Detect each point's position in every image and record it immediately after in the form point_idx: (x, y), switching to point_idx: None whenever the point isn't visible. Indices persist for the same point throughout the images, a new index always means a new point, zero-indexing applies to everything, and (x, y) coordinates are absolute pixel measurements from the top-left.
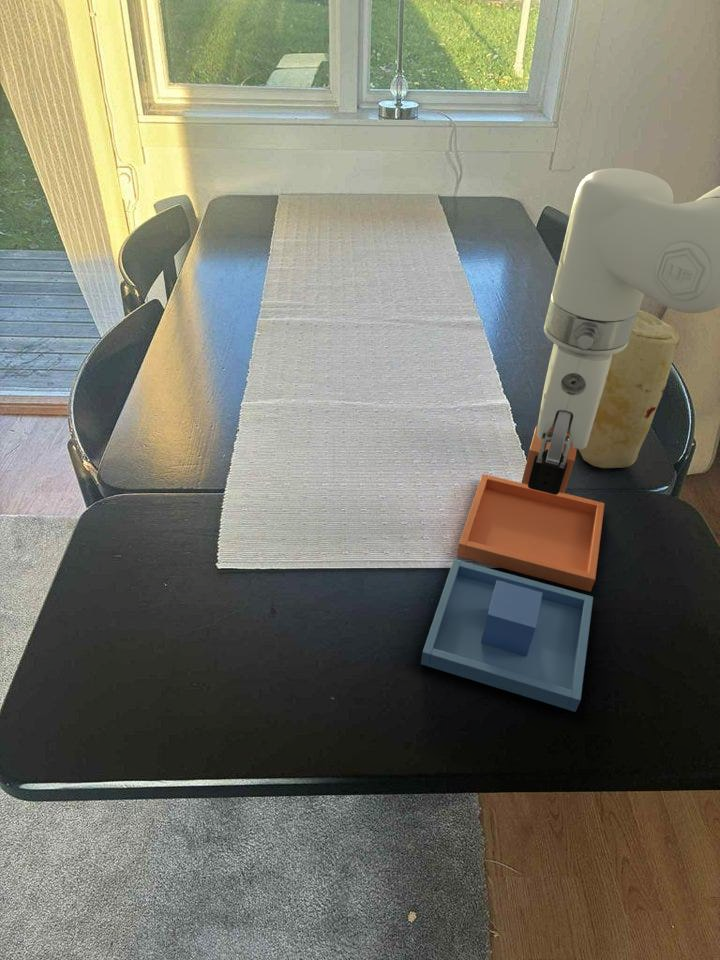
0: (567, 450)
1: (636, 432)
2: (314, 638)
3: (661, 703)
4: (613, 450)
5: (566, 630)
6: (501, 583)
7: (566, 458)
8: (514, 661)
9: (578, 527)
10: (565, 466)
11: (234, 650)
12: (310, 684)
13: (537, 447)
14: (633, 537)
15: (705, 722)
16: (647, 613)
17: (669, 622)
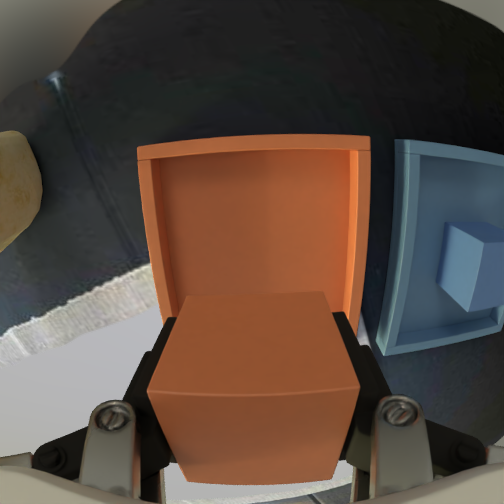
0: (429, 469)
1: None
2: (460, 397)
3: (483, 60)
4: (13, 173)
5: (447, 173)
6: (473, 304)
7: (426, 435)
8: None
9: (208, 179)
10: (375, 389)
11: (463, 423)
12: (494, 377)
13: (312, 474)
14: (183, 79)
15: (479, 21)
16: (364, 49)
17: (366, 21)
